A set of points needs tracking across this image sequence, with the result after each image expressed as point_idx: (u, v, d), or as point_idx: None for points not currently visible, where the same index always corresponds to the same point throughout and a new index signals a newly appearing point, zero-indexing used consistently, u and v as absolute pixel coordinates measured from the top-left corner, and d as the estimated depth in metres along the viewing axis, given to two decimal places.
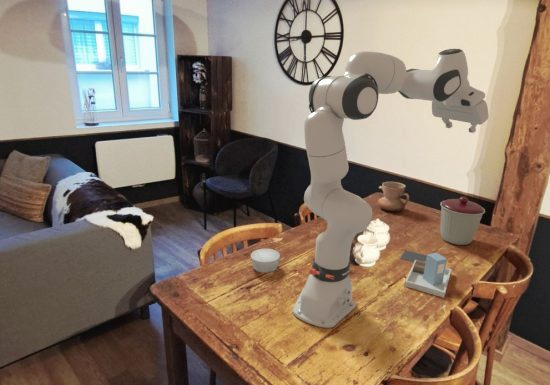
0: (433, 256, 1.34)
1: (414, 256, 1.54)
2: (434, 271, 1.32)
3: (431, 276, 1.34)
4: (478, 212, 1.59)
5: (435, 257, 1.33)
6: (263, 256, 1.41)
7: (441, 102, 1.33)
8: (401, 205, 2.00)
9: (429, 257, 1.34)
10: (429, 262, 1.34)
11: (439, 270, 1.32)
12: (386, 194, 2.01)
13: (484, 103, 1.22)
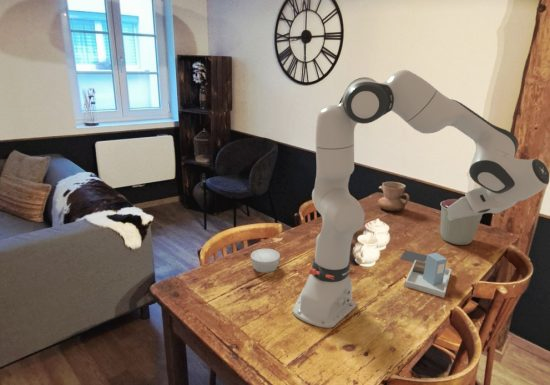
0: (433, 256, 1.34)
1: (414, 256, 1.54)
2: (434, 271, 1.32)
3: (431, 276, 1.34)
4: None
5: (435, 257, 1.33)
6: (263, 256, 1.41)
7: None
8: (401, 205, 2.00)
9: (429, 257, 1.34)
10: (429, 262, 1.34)
11: (439, 270, 1.32)
12: (386, 194, 2.01)
13: (466, 210, 1.07)
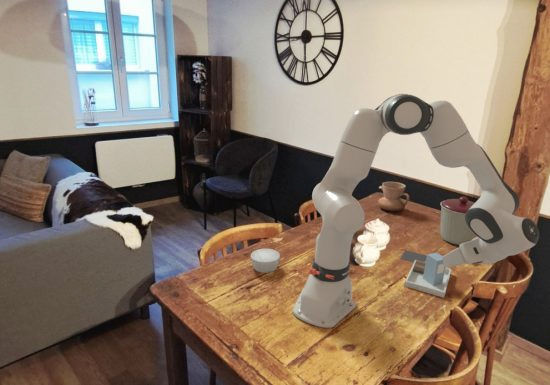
0: (433, 256, 1.34)
1: (414, 256, 1.54)
2: (434, 271, 1.32)
3: (431, 276, 1.34)
4: None
5: (435, 257, 1.33)
6: (263, 256, 1.41)
7: None
8: (401, 205, 2.00)
9: (429, 257, 1.34)
10: (429, 262, 1.34)
11: (439, 270, 1.32)
12: (386, 194, 2.01)
13: (460, 261, 1.13)
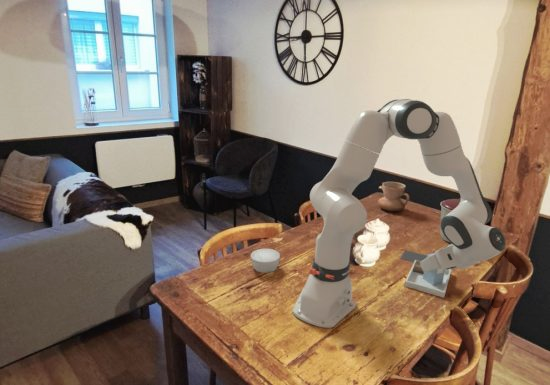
0: None
1: (414, 256, 1.54)
2: (434, 271, 1.32)
3: (431, 276, 1.34)
4: None
5: None
6: (263, 256, 1.41)
7: None
8: (401, 205, 2.00)
9: None
10: None
11: (439, 270, 1.32)
12: (386, 194, 2.01)
13: (435, 266, 1.22)
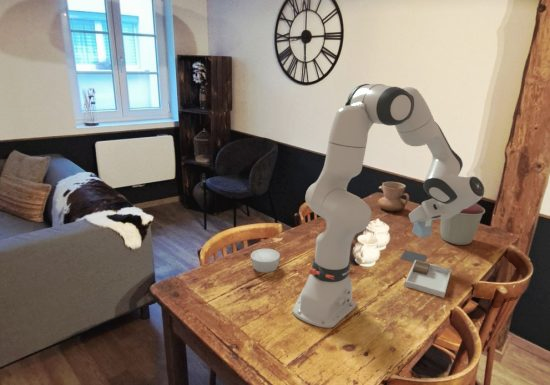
0: None
1: (414, 256, 1.54)
2: (422, 224, 1.43)
3: (420, 229, 1.45)
4: (478, 212, 1.59)
5: None
6: (263, 256, 1.41)
7: None
8: (401, 205, 2.00)
9: None
10: None
11: (427, 223, 1.43)
12: (386, 194, 2.01)
13: (422, 216, 1.33)
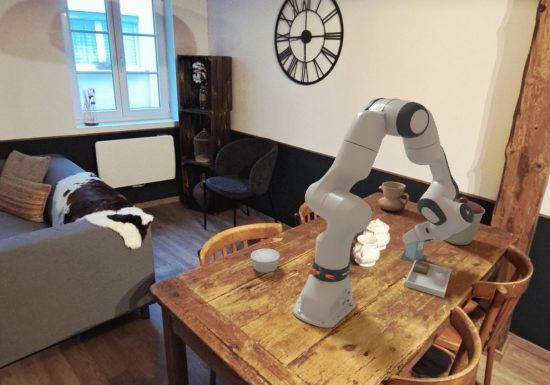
0: None
1: None
2: (415, 248, 1.49)
3: (412, 252, 1.50)
4: (478, 212, 1.59)
5: None
6: (263, 256, 1.41)
7: None
8: (401, 205, 2.00)
9: None
10: None
11: (419, 247, 1.49)
12: (386, 194, 2.01)
13: (415, 239, 1.38)
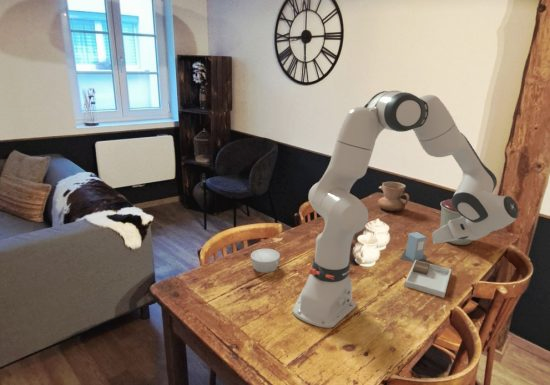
0: (414, 234, 1.50)
1: None
2: (415, 248, 1.49)
3: (412, 252, 1.50)
4: None
5: (415, 236, 1.49)
6: (263, 256, 1.41)
7: None
8: (401, 205, 2.00)
9: (410, 236, 1.50)
10: (411, 240, 1.51)
11: (419, 247, 1.49)
12: (386, 194, 2.01)
13: (448, 236, 1.23)
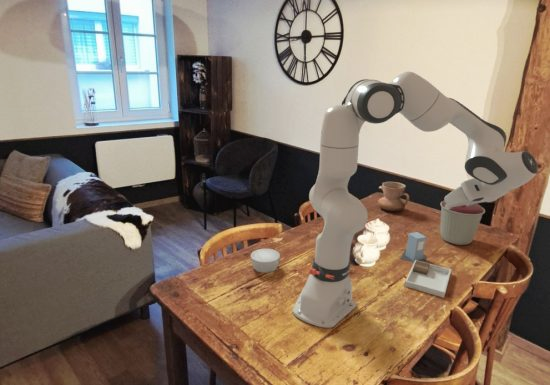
0: (414, 234, 1.50)
1: None
2: (415, 248, 1.49)
3: (412, 252, 1.50)
4: (478, 212, 1.59)
5: (415, 236, 1.49)
6: (263, 256, 1.41)
7: None
8: (401, 205, 2.00)
9: (410, 236, 1.50)
10: (411, 240, 1.51)
11: (419, 247, 1.49)
12: (386, 194, 2.01)
13: (462, 198, 1.16)
